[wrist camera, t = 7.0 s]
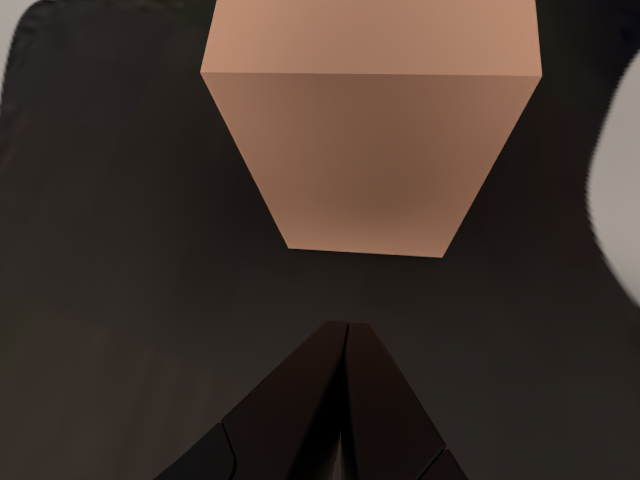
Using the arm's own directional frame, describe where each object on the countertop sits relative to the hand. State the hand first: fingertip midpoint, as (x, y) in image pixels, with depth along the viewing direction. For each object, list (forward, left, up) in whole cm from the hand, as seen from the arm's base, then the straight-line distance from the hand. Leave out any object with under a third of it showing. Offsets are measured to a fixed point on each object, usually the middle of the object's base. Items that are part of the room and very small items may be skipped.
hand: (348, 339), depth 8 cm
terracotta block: (+7, +3, -8) cm, 11 cm away
